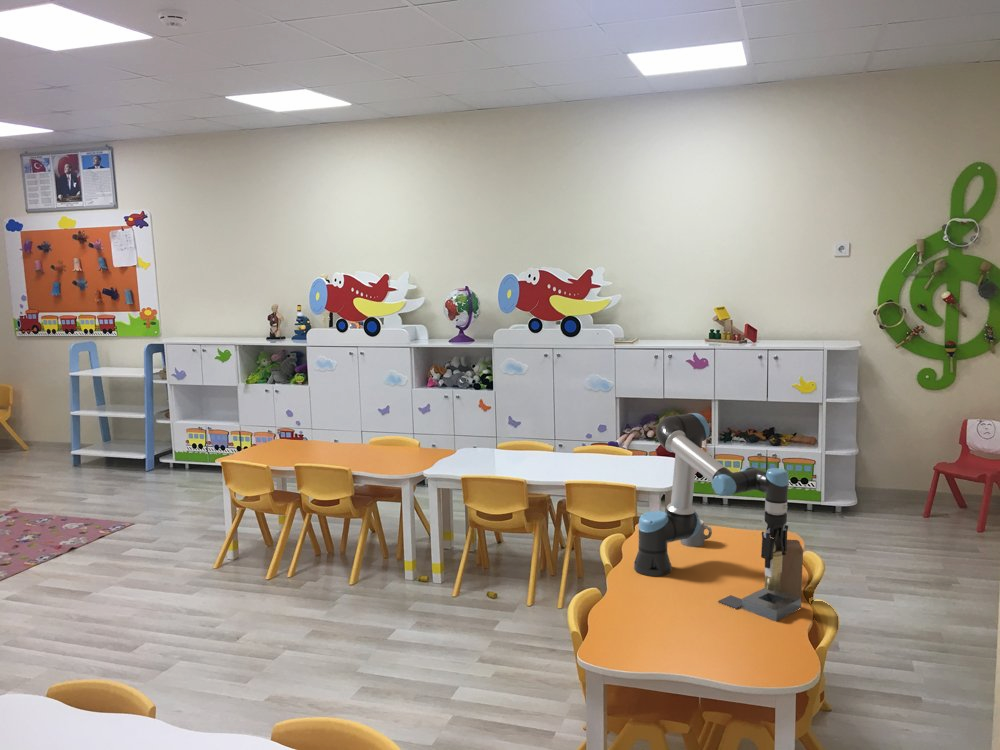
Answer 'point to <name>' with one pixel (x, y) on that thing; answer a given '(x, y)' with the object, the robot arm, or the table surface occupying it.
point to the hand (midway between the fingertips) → (773, 573)
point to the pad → (732, 601)
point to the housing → (771, 604)
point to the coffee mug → (698, 536)
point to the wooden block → (792, 569)
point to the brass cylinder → (775, 572)
